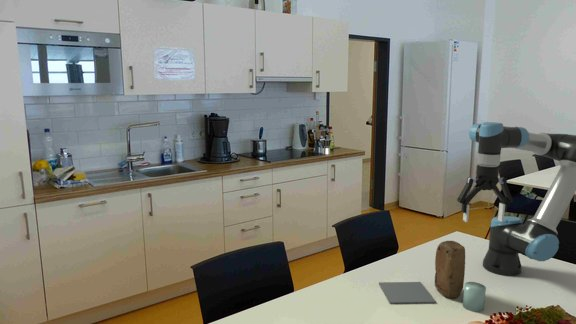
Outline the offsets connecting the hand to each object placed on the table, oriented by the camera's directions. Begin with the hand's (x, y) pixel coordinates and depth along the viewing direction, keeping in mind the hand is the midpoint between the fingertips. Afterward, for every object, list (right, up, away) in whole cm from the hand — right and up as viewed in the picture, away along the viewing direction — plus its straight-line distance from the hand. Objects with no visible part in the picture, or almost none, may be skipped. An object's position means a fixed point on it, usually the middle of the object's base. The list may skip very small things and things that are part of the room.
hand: (483, 221), depth 161 cm
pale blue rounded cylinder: (-6, -30, -6) cm, 31 cm away
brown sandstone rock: (-12, -28, +4) cm, 31 cm away
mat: (-28, -28, +4) cm, 40 cm away
